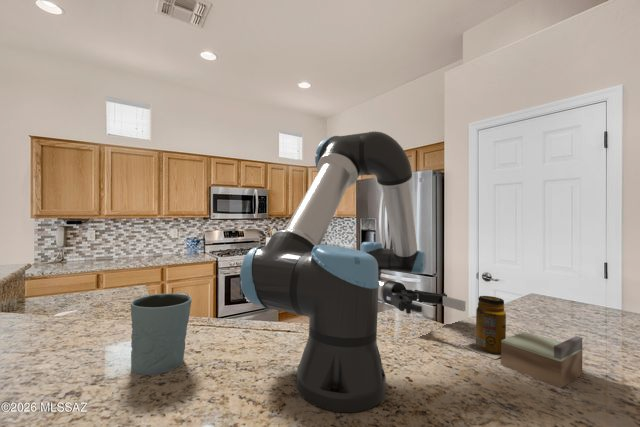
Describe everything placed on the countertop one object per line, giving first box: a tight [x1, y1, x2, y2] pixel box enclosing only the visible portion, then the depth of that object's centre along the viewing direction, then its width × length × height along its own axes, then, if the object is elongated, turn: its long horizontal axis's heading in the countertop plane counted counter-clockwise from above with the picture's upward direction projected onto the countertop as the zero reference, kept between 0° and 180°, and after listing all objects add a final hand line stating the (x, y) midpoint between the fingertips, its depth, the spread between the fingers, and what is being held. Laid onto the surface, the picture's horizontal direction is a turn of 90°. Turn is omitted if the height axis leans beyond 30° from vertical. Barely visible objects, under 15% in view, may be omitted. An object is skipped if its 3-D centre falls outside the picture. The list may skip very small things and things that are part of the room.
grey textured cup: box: [130, 292, 193, 376], centre depth 54 cm, size 10×10×12 cm
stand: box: [500, 331, 583, 389], centre depth 59 cm, size 11×10×7 cm
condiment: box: [462, 295, 507, 360], centre depth 68 cm, size 7×8×12 cm
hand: (450, 309), depth 76 cm, fingers open, 13 cm apart
